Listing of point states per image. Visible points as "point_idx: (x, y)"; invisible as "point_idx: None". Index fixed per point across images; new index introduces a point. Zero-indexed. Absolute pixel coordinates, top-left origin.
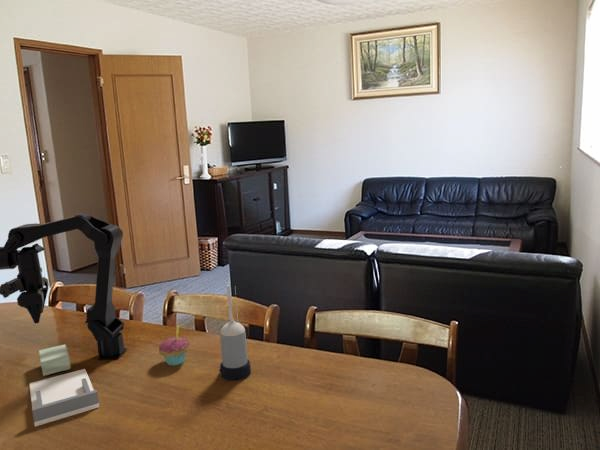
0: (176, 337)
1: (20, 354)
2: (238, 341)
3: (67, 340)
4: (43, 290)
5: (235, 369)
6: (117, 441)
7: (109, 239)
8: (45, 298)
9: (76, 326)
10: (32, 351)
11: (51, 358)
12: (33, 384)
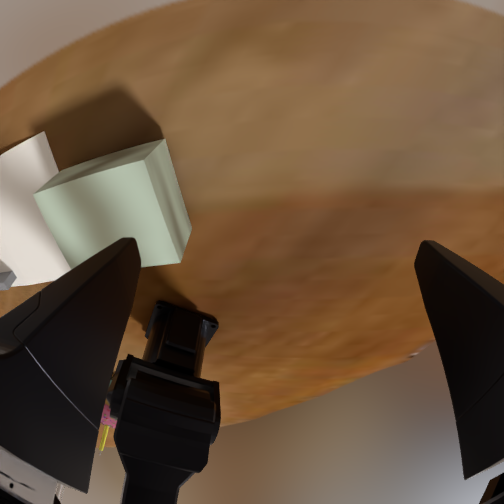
0: (104, 429)
1: (349, 37)
2: None
3: (390, 218)
4: (487, 462)
5: None
6: None
7: None
8: (451, 395)
9: (485, 244)
10: (358, 85)
11: (56, 224)
12: (32, 148)
